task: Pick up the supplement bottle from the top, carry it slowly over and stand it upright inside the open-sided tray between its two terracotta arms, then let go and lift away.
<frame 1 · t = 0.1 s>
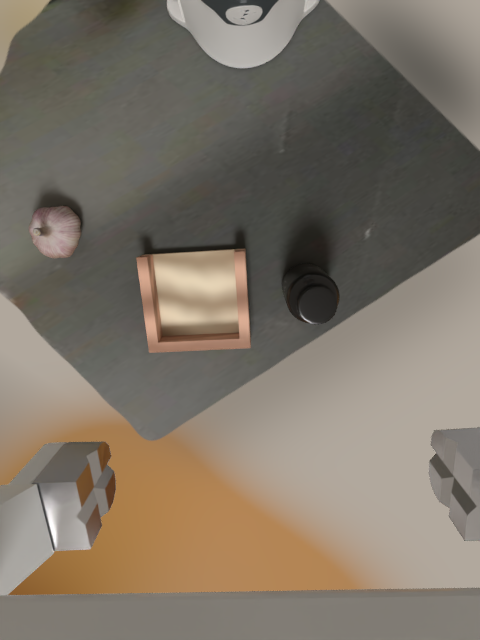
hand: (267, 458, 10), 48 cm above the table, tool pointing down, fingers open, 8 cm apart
supplement bottle: (304, 285, 57), on the table
open-sided tray: (198, 297, 58), on the table
garlic bulb: (64, 231, 56), on the table
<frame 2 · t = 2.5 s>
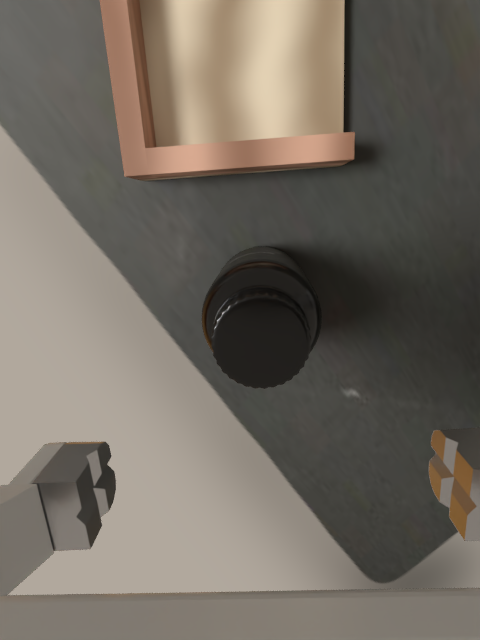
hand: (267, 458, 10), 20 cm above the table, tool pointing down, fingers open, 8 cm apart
supplement bottle: (260, 289, 29), on the table
open-sided tray: (232, 51, 25), on the table
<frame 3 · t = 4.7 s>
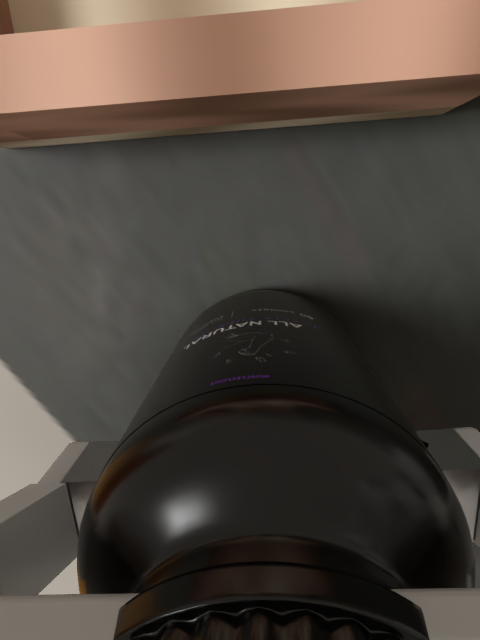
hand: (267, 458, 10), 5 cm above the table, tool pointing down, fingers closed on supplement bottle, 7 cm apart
supplement bottle: (262, 371, 15), on the table, touching gripper
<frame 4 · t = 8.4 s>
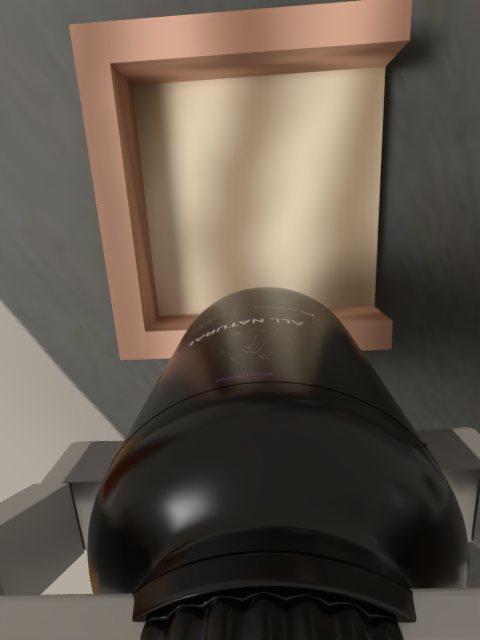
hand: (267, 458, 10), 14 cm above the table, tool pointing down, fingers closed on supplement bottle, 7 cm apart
supplement bottle: (263, 366, 15), point 8 cm above the table, touching gripper
open-sided tray: (247, 204, 21), on the table
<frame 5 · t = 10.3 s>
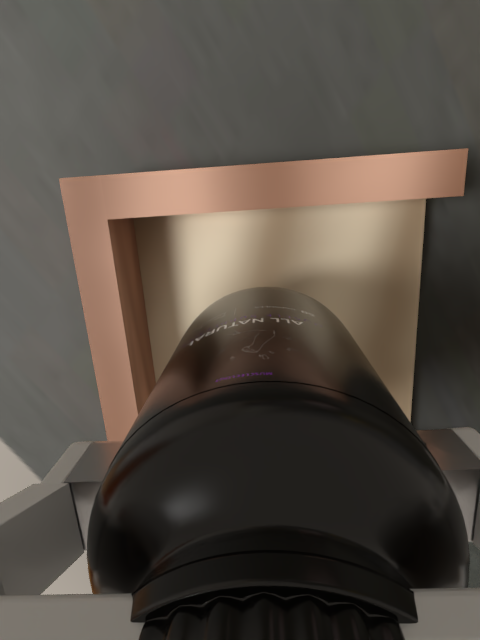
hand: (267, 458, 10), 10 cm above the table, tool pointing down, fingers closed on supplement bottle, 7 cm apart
supplement bottle: (263, 366, 15), point 4 cm above the table, touching gripper
open-sided tray: (264, 334, 19), on the table
when the fingers open (7 cm above the table, at t = 11.9 s): supplement bottle stays where it is, resting on open-sided tray.
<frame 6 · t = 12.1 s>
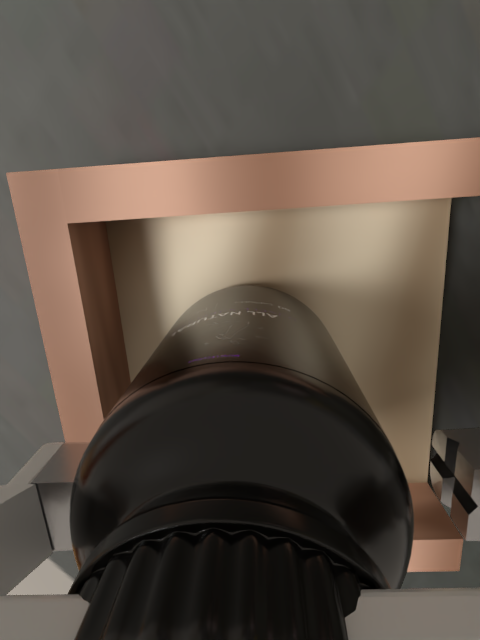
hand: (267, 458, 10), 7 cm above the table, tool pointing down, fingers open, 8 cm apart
supplement bottle: (247, 362, 16), point 1 cm above the table, touching open-sided tray, gripper
open-sided tray: (261, 354, 16), on the table
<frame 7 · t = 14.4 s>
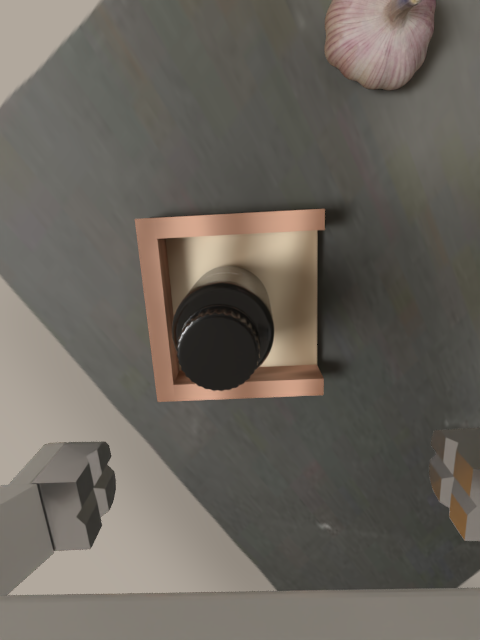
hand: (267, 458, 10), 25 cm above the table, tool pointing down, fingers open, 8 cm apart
supplement bottle: (229, 303, 33), point 1 cm above the table, touching open-sided tray
open-sided tray: (236, 301, 34), on the table
garlic bulb: (367, 47, 29), on the table
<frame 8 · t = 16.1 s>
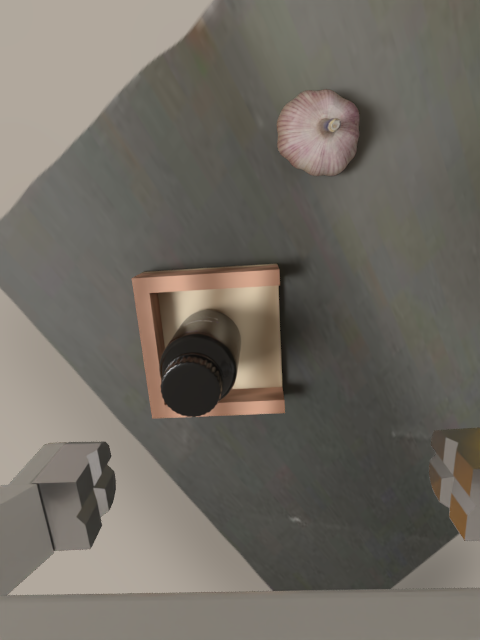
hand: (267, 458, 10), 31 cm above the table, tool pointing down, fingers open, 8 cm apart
supplement bottle: (209, 338, 41), point 1 cm above the table, touching open-sided tray
open-sided tray: (215, 335, 42), on the table
garlic bulb: (314, 139, 36), on the table
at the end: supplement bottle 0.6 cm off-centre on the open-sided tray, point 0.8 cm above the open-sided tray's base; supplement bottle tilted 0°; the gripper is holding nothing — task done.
